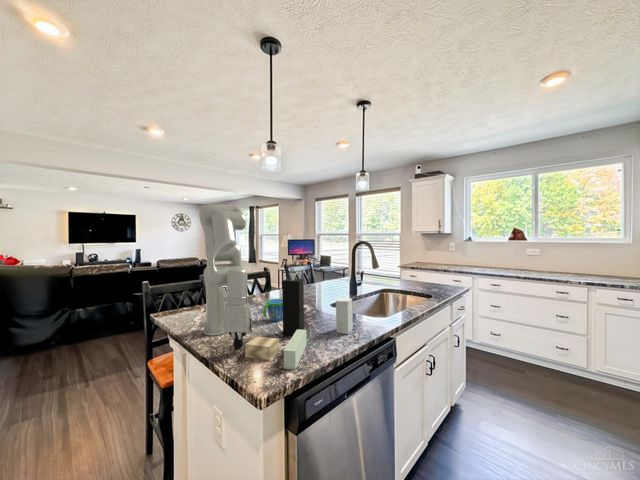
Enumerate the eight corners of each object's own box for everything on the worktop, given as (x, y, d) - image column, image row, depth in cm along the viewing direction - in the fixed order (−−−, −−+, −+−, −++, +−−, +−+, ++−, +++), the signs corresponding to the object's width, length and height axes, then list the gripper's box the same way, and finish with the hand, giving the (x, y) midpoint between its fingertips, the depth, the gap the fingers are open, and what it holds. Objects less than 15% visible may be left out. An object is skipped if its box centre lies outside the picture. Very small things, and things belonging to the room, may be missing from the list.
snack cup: (268, 325, 135) (268, 305, 135) (258, 320, 143) (258, 301, 143) (294, 319, 145) (293, 300, 145) (283, 314, 153) (283, 297, 153)
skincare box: (348, 334, 120) (348, 301, 120) (335, 333, 123) (335, 300, 122) (353, 328, 128) (352, 297, 128) (341, 327, 130) (340, 297, 130)
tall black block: (299, 337, 118) (298, 273, 118) (282, 336, 119) (281, 273, 119) (304, 331, 125) (303, 271, 125) (288, 330, 127) (287, 271, 127)
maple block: (245, 357, 99) (245, 344, 99) (256, 348, 107) (256, 336, 107) (269, 360, 96) (269, 346, 96) (279, 351, 104) (279, 338, 104)
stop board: (283, 368, 90) (283, 350, 90) (297, 343, 110) (296, 329, 110) (295, 369, 89) (295, 351, 89) (306, 344, 110) (306, 329, 110)
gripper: (214, 302, 100) (214, 352, 100) (252, 303, 98) (253, 353, 98) (223, 298, 107) (224, 344, 107) (259, 299, 105) (260, 345, 105)
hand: (238, 348), depth 103 cm, fingers closed
